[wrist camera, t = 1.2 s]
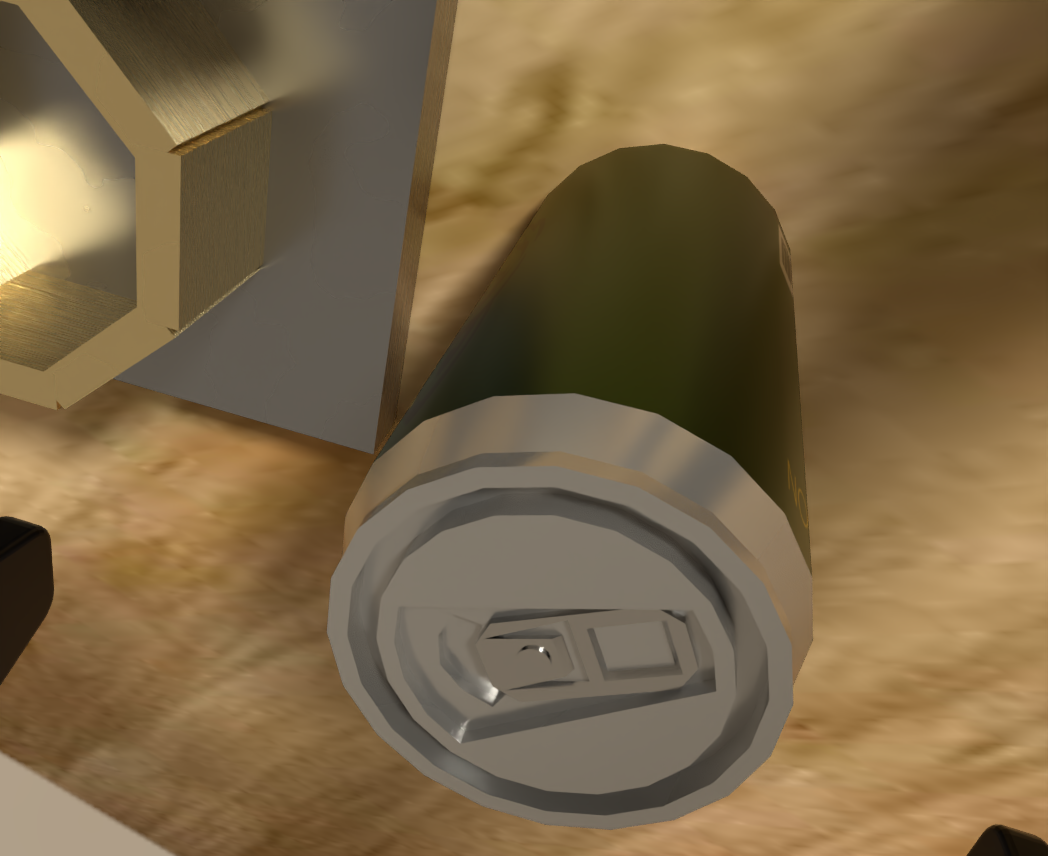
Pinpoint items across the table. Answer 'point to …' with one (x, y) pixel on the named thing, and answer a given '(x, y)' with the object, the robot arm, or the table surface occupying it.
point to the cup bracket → (218, 201)
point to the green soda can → (596, 512)
